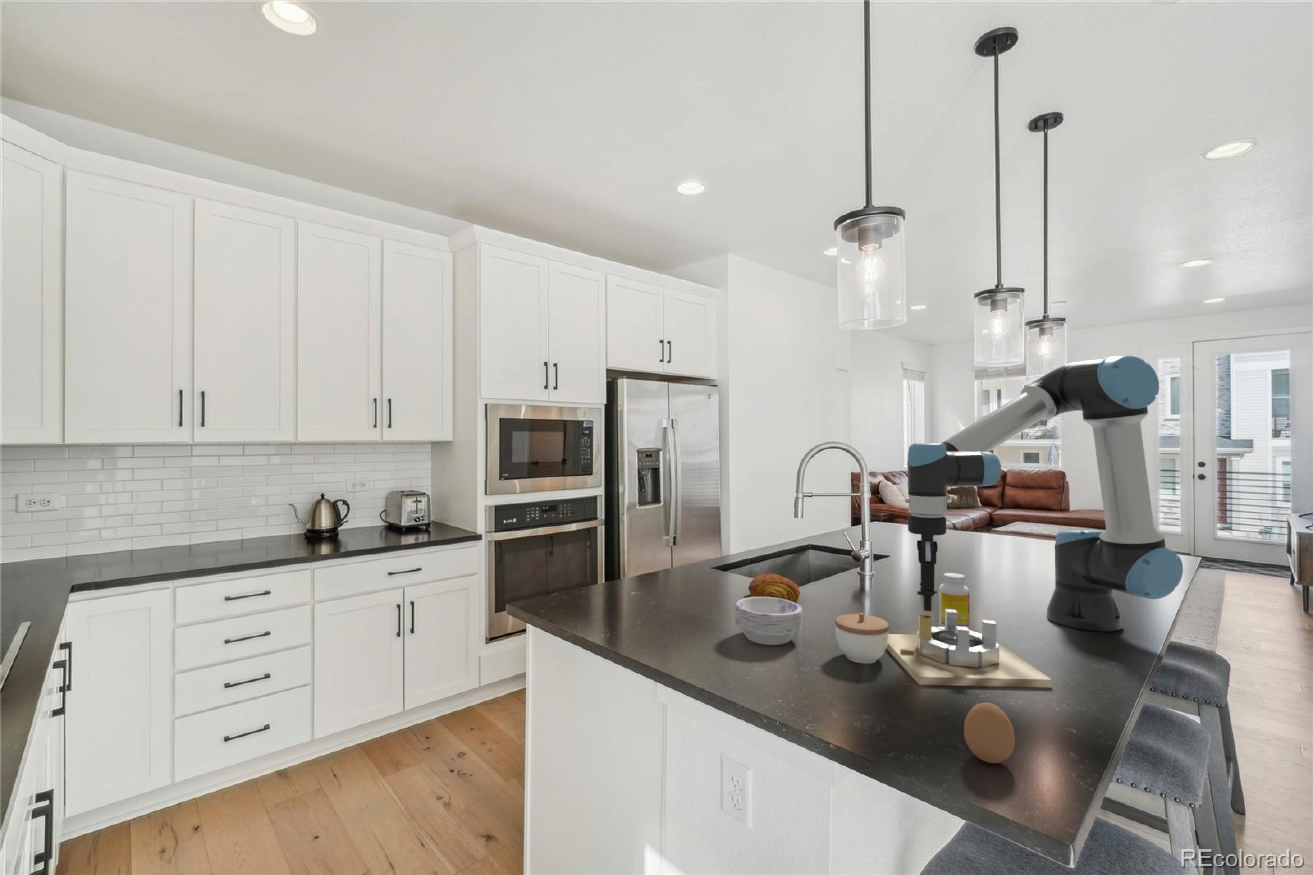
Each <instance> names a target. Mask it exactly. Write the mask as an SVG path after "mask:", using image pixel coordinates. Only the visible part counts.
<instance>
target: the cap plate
mask: <svg viewBox="0 0 1313 875" xmlns="http://www.w3.org/2000/svg"><path fill="white" fill-rule="evenodd" d="M996 643H997V644H998V645H999V661H998V663H995V664H992V665H988V666H985V667H980V666H979V667H968V666H958V665H949V664H948V663H942V662H939V661H937V660H934V659H931V658H929V657H926V656H923V655H922V654H920V652H919V649H918V647H917V634H908V633H907V634H904V633H903V634H902V633H900V634H899V633H898V634H897V633H895V634H894V633H888V643H887V647H886V650H887V651H888V652H889V653H890V655H892V656H893V657H894V659H895V660H897V662H898V663H899V664H900V665H901V666H902V667H903V668H904V669H905V670H906V672H907V673H908V674H909V675H910V676H911V677H912V678H913V680H915V682H916V683H917V684H918V685H919V686H957V687H958V686H961V687H962V686H963V687H967V686H968V687H1005V688H1007V687H1008V688H1009V687H1011V688H1046V689H1047V688H1049V689H1050V688H1051V689H1052V688H1053V687H1052V686H1053V680H1052V678H1050V677H1049V676H1047V675H1046V674H1044V672H1041V671H1040V670H1038V669H1037V668H1035V667H1034V666H1033V665H1031V664H1030V663H1029V662H1026V660H1024V659H1022V658H1021V657H1019V656H1018V655H1016V654H1015V653H1013V652H1012V651H1011V650H1009V649H1007V648H1006V647H1004V646H1003V645H1001V644H1000V643H999V642H998V641H996Z"/></svg>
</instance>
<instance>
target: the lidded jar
mask: <svg viewBox="0 0 1313 875" xmlns="http://www.w3.org/2000/svg"><path fill="white" fill-rule="evenodd" d="M834 625H835V637H836V642H837V645H838V647H839V649H840V651H841V652H842V653H843V654H844V655H845V656H846V658H847V659H848V660H849V661H851V662H855V663H858V664H866V665H867V664H874V663H876V662H877V661H878V659H879V658H881V657H882V656H883V655H884V653H885V652H886V650H887V649H886V647H887V643H888V634H889V630H890V624H889V622H888V621H887V620H884V619H883V618H880V617H878V616H873V615H870V614H869V615H868V614H865V613H863V612H859V613H848V614H841V615H839V616H836V617H835V619H834Z"/></svg>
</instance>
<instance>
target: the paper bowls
mask: <svg viewBox="0 0 1313 875" xmlns="http://www.w3.org/2000/svg"><path fill="white" fill-rule="evenodd" d="M734 612H735V613H734V620H735V621H734V623H735V626H736V627H737V628H738V629H740V630H742V631H743V633H744V636H745V637H746V638H747V639H748V640H749V641H751V642H752V643H755V644H759V645H765V646H781V645H785V644H787V643H789V642H790V641H791V640H792V638H793V637H794V635H797V634H799V633H800V632H802V629H803V608H802V606H801V605H800V604H798V603H796V602H795V603H794V602H792V601H789V600H785V599H780V598H773V597H752V596H749V597H744V598H741V599H739V600H737V601H736V602H735V608H734Z"/></svg>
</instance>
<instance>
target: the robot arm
mask: <svg viewBox="0 0 1313 875" xmlns="http://www.w3.org/2000/svg"><path fill="white" fill-rule="evenodd" d="M1159 391H1160V382H1159V377H1158V375H1157V373H1156V371H1155V369H1154V368H1153V367H1152V365H1150V363H1148V362H1146V361H1145V360H1144V359H1142V358H1141V357H1138V356H1134V355H1111V356H1108V357H1103V358H1102V357H1101V358H1096V359H1095V358H1094V359H1088V360H1082V361H1081V360H1080V361H1074V362H1069V363H1067V364H1064V365H1062V366H1059V367H1057V368H1055V369H1053V370H1051V371H1050V372H1048V373H1045V374H1044V375H1043V376H1041V377H1039V378H1037V379H1036V380H1034V381H1033V382H1031V383H1029V384H1028V385H1025V386H1024V387H1023V388H1022V390H1021V391H1020V395H1018V396H1017V397H1014V398H1013V399H1011V400H1010V401H1008V402H1006V403H1004V404H1003V405H1002V406H1000V407H998V408H997V409H995V410H993V411H992V412H990V413H988V414H987V415H985V416H983V417H982V418H980V419H978V420H977V421H975V422H973V423H972V424H970V425H969V426H967V427H965V428H964V429H962V430H961V431H959V432H957V433H956V434H954V435H953V436H949V438H947V439H945V440H944V441H942V442H940V443H935V442H934V443H933V442H932V443H929V442H928V443H926V442H925V443H921V442H919V443H918V442H917V443H912V444H910V445H909V446H908V452H907V462H906V465H907V494H908V496H907V497H908V498H905V500H904V503H905V504H908V507H907V508H908V509H907V510H908V511H907V512H908V513H910V514H908V516H907V530H908V532H909V533H910V534H913V535H920V540H916V549H917V552H918V553H917V556H918V562H919V564H920V565H919V566H920V583H919V586H920V588H919V590H917V594H916V595H919V596H920V598H919V603H920V608H919V610H920V614H919V615H928V616H930V617H931V627H935V594H937V593H938V589H935V565H936V564H937V552H938V549H939V548H938V547H939V546H938V543H937V542H938V541H935V540H934V536H944V535H945V534H947V518H946V516H945V515H946V514H948V513H947V512H948V509H947V508H948V506H947V503H948V502H947V488H952V487H978V488H982V487H988V486H994V485H995V484H997V482H998V481H999V480H1000V478H1001V476H1002V475H1001V474H1002V465H1001V461H1000V459H999V458H998V456H997V455H995V453H993V452H991V451H992V450H994V449H995V448H997V447H998V446H1000V445H1002V444H1003V443H1005V442H1007V441H1008V440H1010V439H1012V438H1014V437H1015V436H1017V435H1019V434H1020V433H1022V432H1023V431H1025V430H1027V429H1028V428H1029V427H1031V426H1033V425H1035V424H1036V423H1038V422H1040V421H1049V420H1051V419H1054V418H1055V417H1056V416H1059V415H1061V414H1064V413H1069V412H1074V411H1082V420H1083V421H1084V422H1086V423H1087V424H1089V425H1090V426H1091V427H1092V433H1093V440H1094V449H1095V456H1096V462H1097V470H1098V476H1099V485H1100V492H1101V500H1102V507H1103V516H1104V523H1105V529H1104V530H1103V529H1101V530H1100V529H1066V530H1064V529H1063V530H1060V531H1058V532H1057V533H1056V535H1055V542H1054V543H1055V544H1053V545H1054V572H1055V573H1054V576H1055V577H1054V578H1055V579H1054V581H1055V583H1054V585H1055V586H1054V590H1053V592H1052V596H1051V598H1050V600H1049V602H1048V605H1047V608H1046V617H1047V619H1048V620H1050V622H1053V623H1056V624H1058V625H1061V626H1064V627H1068V628H1073V629H1079V630H1084V631H1091V632H1092V631H1093V632H1116V631H1120V630H1122V616H1121V614H1120V612H1119V609H1118V606H1117V604H1116V601H1115V598H1114V596H1113V590H1114V591H1116V592H1117V591H1118V592H1121V593H1124V594H1128V595H1130V596H1132V597H1136V598H1143V599H1147V600H1159V599H1162V598H1165V597H1168V596H1169V595H1170V594H1172V593H1173V592H1174V591H1175V590H1176V587H1178V586H1179V584H1180V583H1181V580H1182V578H1183V574H1184V565H1183V560H1182V559H1181V557H1180V556H1179V555H1178V554H1177V553H1176V552H1175V551H1174V550H1172V549H1169V548H1168V547H1166V540H1165V535H1164V534H1163V533H1162V532H1161V531H1159V530H1157V529H1156V528H1155V524H1154V517H1153V510H1152V502H1151V501H1152V500H1151V493H1150V487H1149V486H1150V485H1149V480H1148V472H1147V471H1148V470H1147V463H1146V455H1145V449H1144V448H1145V447H1144V441H1143V433H1142V432H1143V431H1142V426H1141V423H1142V421H1143V420H1144V418H1145V417H1146V416H1148V414H1149V408H1148V406H1150V405H1151V404H1152V403H1153V402H1154V401H1155V400H1156V399H1157V397H1156V396H1157V395H1158V394H1159Z"/></svg>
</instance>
